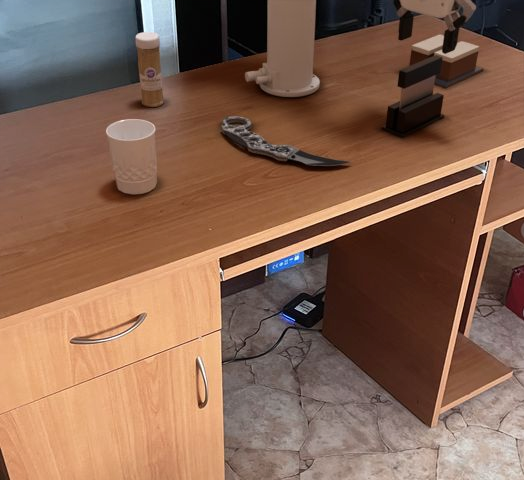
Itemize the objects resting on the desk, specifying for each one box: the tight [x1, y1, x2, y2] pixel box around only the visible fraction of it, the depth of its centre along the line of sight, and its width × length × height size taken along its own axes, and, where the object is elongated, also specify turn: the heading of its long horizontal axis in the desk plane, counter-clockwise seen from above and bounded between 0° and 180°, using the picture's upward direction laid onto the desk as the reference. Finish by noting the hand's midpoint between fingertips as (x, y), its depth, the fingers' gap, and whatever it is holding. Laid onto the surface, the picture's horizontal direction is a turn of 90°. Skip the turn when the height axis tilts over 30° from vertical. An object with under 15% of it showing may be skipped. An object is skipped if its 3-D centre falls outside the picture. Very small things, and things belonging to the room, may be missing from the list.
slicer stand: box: [380, 92, 445, 139], centre depth 150 cm, size 13×5×5 cm, turn 134°
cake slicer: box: [397, 55, 443, 110], centre depth 148 cm, size 11×2×11 cm, turn 134°
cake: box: [402, 33, 484, 89], centre depth 170 cm, size 14×12×6 cm
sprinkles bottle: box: [135, 31, 165, 108], centre depth 154 cm, size 5×5×14 cm
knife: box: [220, 115, 352, 167], centre depth 143 cm, size 28×2×10 cm
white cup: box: [105, 118, 158, 195], centre depth 129 cm, size 8×8×10 cm
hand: (426, 45), depth 142 cm, fingers open, 9 cm apart
